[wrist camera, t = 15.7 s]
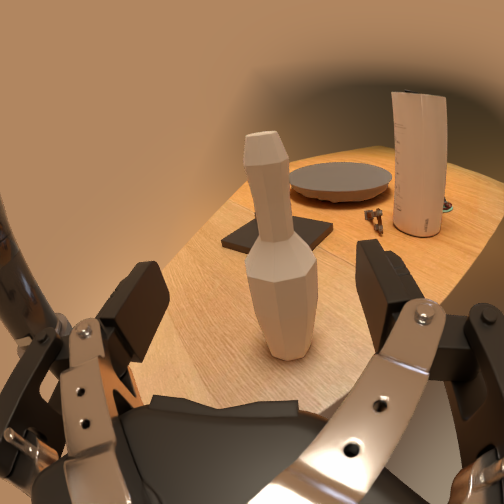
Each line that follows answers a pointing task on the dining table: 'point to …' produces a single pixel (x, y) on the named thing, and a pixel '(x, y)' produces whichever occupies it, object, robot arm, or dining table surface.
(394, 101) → the speaker
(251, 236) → the scale
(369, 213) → the jointed metal bracket
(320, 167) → the flat disc
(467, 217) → the dining table surface
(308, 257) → the low poly bottle
